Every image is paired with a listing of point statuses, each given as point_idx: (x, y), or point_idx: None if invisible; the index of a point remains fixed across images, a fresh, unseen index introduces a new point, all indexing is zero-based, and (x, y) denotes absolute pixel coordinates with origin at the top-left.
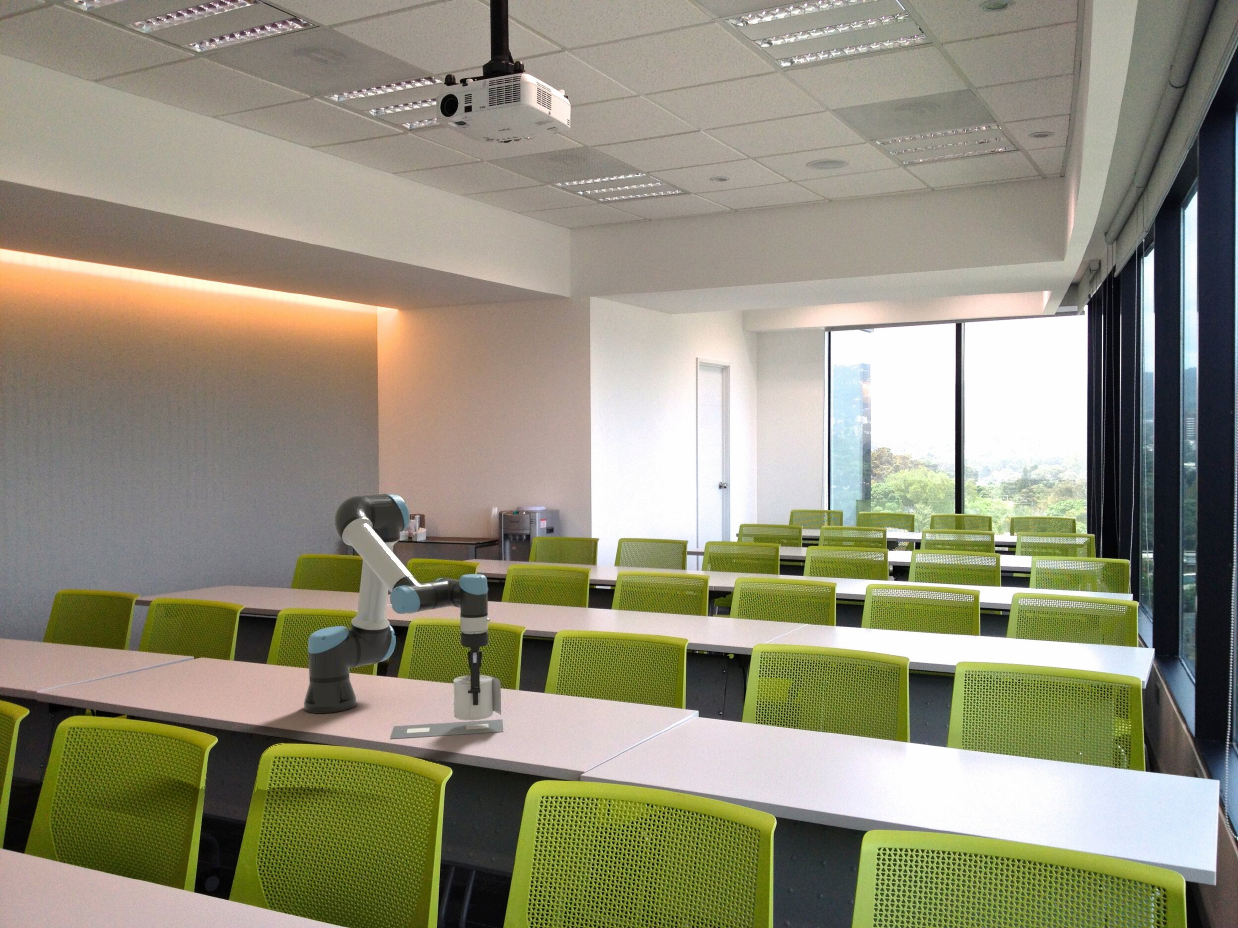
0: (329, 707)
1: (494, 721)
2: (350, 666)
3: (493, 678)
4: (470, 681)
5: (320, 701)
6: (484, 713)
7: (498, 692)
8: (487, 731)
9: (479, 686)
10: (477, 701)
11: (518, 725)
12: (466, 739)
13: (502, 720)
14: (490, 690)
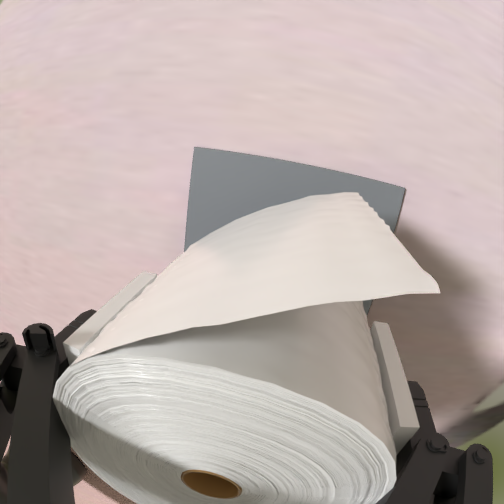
0: (79, 471)
1: (216, 189)
2: (5, 472)
3: (163, 325)
4: (252, 500)
5: (76, 482)
6: (361, 301)
7: (310, 233)
8: None
9: (492, 477)
10: (423, 401)
11: (327, 90)
12: (423, 345)
13: (213, 149)
14: (335, 333)
